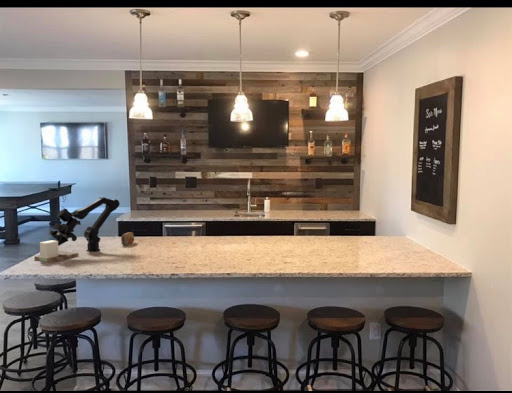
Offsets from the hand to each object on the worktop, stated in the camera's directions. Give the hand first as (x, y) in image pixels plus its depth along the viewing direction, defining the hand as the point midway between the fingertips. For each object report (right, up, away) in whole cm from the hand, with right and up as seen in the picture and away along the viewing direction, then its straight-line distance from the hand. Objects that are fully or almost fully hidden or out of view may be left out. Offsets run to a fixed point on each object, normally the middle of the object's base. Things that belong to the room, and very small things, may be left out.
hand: (55, 246), depth 267 cm
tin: (+31, -4, +44) cm, 54 cm away
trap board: (0, -7, +1) cm, 7 cm away
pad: (-3, -7, -5) cm, 9 cm away
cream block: (-2, -5, -4) cm, 7 cm away
